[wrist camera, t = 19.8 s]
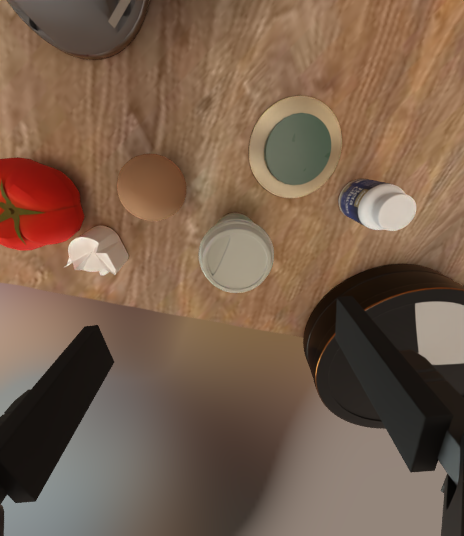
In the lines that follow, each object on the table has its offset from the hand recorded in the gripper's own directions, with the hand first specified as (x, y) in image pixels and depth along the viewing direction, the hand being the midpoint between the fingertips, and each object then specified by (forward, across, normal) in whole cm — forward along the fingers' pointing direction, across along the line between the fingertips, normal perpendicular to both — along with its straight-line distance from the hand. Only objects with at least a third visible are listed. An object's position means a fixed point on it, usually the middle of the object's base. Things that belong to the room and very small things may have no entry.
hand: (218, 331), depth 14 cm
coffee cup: (+26, +1, -2) cm, 26 cm away
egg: (+26, -8, +6) cm, 28 cm away
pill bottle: (+26, +19, +1) cm, 32 cm away
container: (+15, +25, -24) cm, 38 cm away
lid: (+23, +10, +8) cm, 27 cm away
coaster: (+25, +10, +8) cm, 29 cm away
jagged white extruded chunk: (+25, -20, -2) cm, 32 cm away
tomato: (+25, -24, +6) cm, 36 cm away
